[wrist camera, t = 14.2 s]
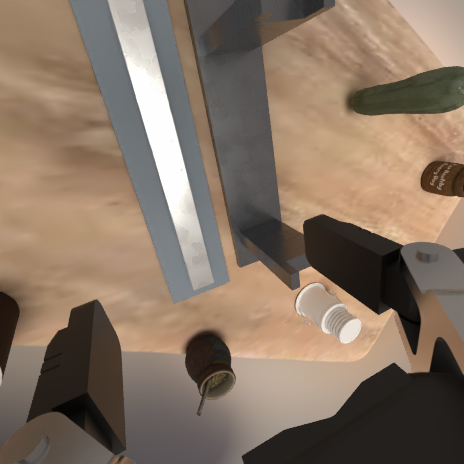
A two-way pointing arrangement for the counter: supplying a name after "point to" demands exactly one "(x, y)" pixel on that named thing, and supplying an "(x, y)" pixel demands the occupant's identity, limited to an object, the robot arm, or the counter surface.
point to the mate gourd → (210, 367)
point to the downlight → (327, 312)
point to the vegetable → (414, 94)
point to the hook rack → (248, 121)
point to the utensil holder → (444, 179)
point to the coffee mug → (7, 328)
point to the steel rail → (160, 133)
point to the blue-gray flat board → (135, 144)
